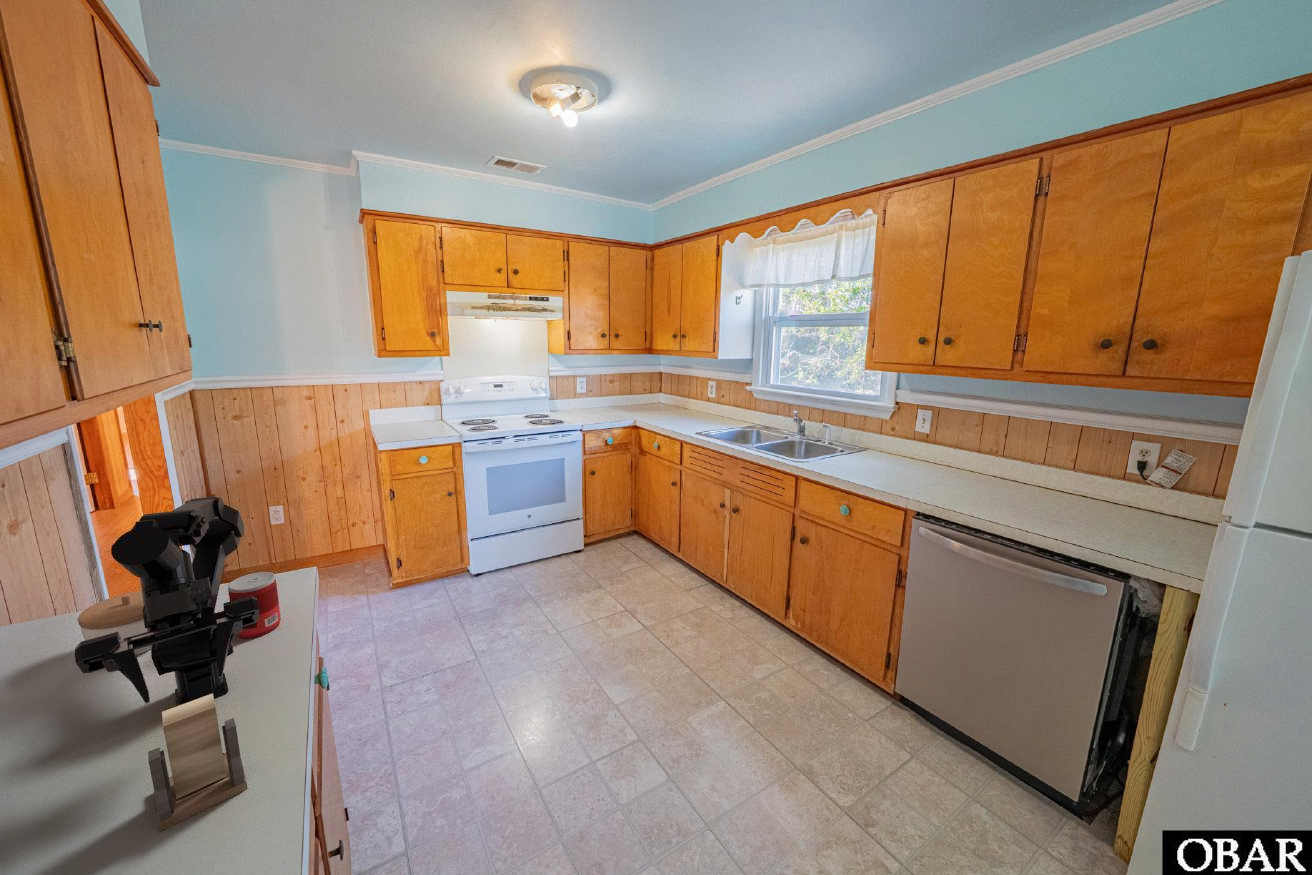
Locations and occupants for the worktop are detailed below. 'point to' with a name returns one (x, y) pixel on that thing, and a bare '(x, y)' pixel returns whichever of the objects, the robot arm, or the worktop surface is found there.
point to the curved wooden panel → (194, 745)
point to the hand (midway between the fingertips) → (185, 689)
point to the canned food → (267, 597)
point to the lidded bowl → (115, 618)
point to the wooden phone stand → (204, 797)
